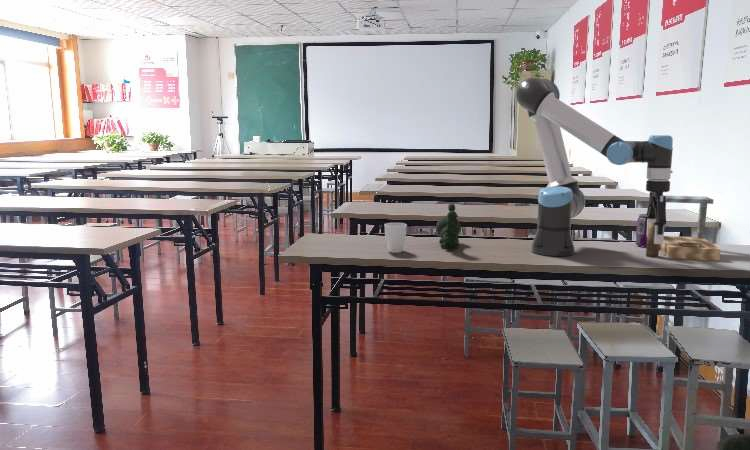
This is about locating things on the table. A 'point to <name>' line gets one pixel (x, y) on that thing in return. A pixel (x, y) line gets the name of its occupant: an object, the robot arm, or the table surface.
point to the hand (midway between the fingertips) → (654, 240)
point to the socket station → (691, 245)
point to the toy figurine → (449, 229)
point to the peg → (651, 242)
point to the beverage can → (641, 230)
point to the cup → (395, 236)
